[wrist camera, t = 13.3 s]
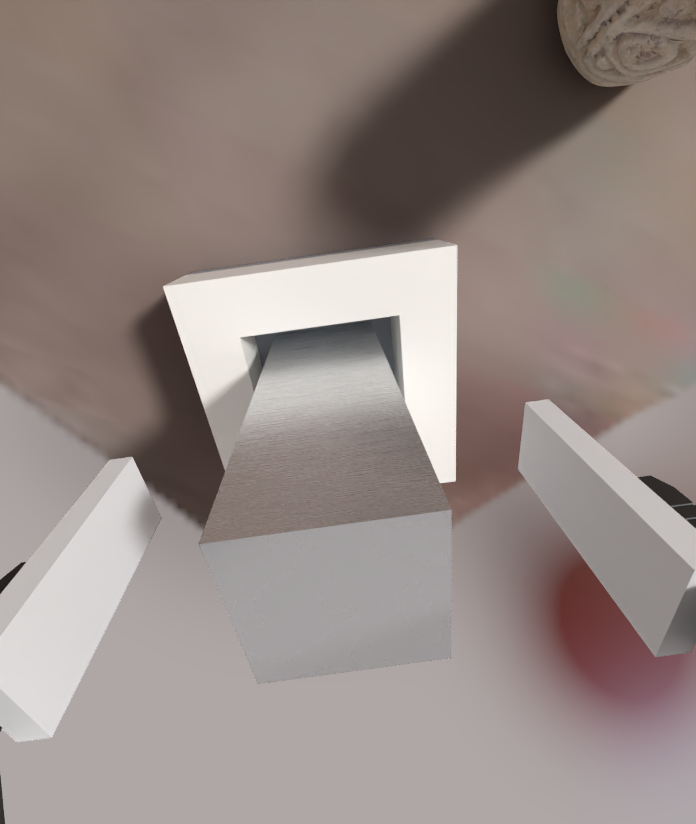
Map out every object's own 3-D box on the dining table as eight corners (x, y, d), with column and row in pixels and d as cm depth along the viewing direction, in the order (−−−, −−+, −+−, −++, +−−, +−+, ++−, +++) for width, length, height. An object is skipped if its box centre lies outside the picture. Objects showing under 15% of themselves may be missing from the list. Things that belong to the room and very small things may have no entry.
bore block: (191, 272, 19) (162, 286, 16) (432, 238, 19) (457, 245, 16) (250, 467, 25) (238, 511, 21) (436, 442, 25) (455, 481, 21)
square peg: (274, 336, 20) (198, 544, 8) (371, 322, 20) (451, 509, 8) (293, 420, 22) (257, 684, 10) (379, 408, 22) (451, 658, 10)
